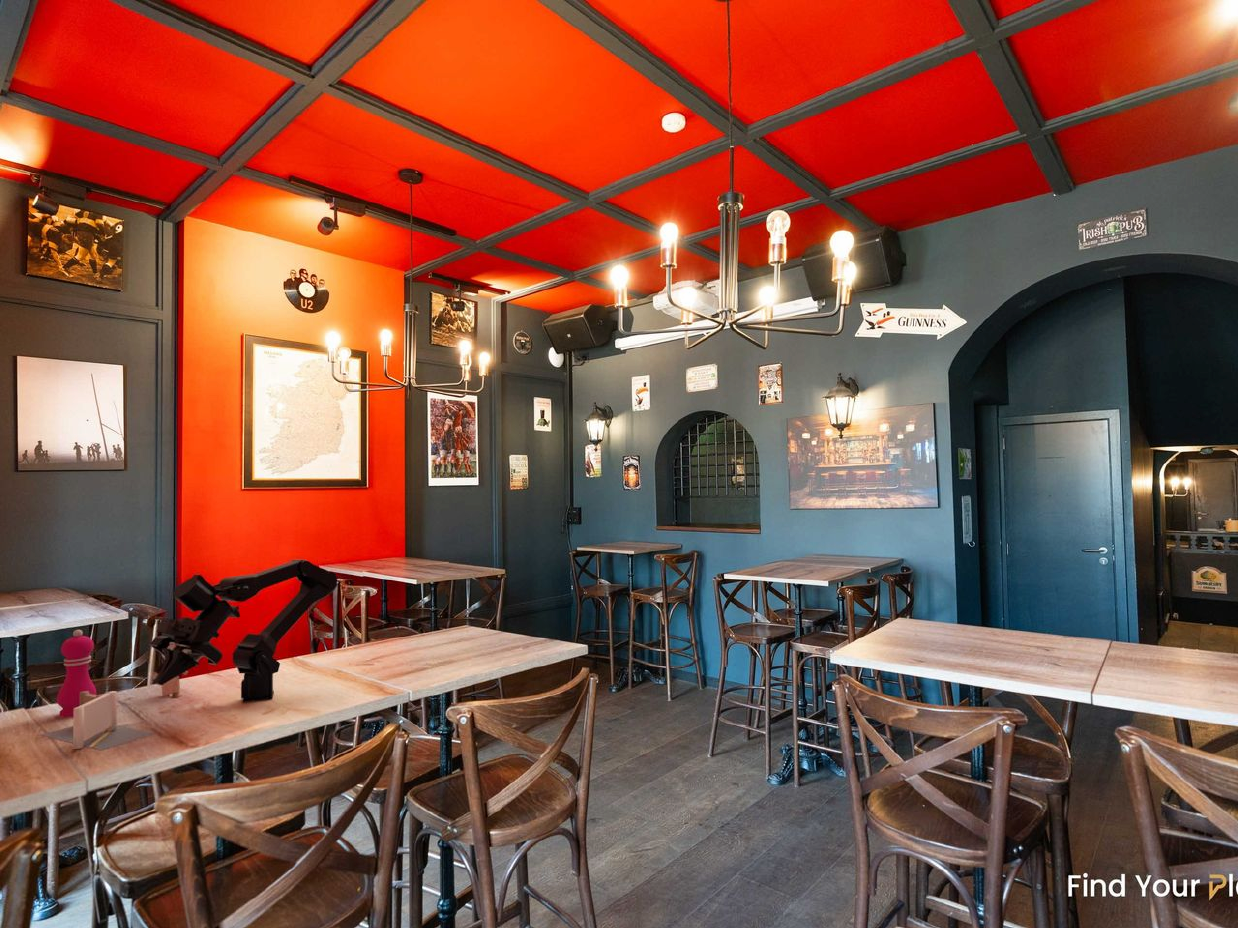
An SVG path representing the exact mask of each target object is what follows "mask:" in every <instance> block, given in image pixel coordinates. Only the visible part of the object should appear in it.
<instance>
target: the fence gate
mask: <svg viewBox="0 0 1238 928" xmlns="http://www.w3.org/2000/svg"><path fill="white" fill-rule="evenodd" d="M103 694H104V695H102V696H100V697H98V698H96V699H94V700H92V701H89V702H87V703H85V704H83V705H81V706H79V707H76V708H74V716H73V719H72V720H73V721H72V723H73V725H72V726H73V743H72V750H80V749H82V748H84V746H83V743H84V741H85V740H87V739H89V738H91V737H92V736H94V735H96V734H98V733H100V732H101V731H103V730H105V731H112V730H115V729H117V725H118V723H117V722H118V721H117V720H118V717H117V716H118V691H116V690H115V691H113V690H112V691H108V692H107V691H106V693H103Z"/></svg>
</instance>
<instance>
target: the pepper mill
mask: <svg viewBox="0 0 1238 928" xmlns="http://www.w3.org/2000/svg"><path fill="white" fill-rule="evenodd" d="M83 634H84V633H83V630H81V629H75V630H74V631H73V633H72V636H73V637H70V638H68V639H66V640H65V641H64V642H63V643H62V645H61V648H60V653H61V654H62V656H63V657H64V659H63V662H64V663H63V666H65V669H66V672H65V679H64V682H63V684H62V686H61V687H60V689H59V691H58V694H57V699H56V702H57V704H58V706H59V707H61V709H60V710H59V717H60V718H72V717H73V718H74V708H76V707H79V706H80V692H84V691H89V694H93V695H97V688H96V686H95V684H94V683H93V681H92V680H91V677H90V674H89V666H90V665H89V664H90V663H91V662H92V660H91V658H92V656H91V655H90V654H91V653H92V652H93V650H94V648H95V647H94V646H95V643H94V641H93V640H92V638H90V637H89V636H84V635H83Z"/></svg>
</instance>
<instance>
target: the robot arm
mask: <svg viewBox="0 0 1238 928" xmlns="http://www.w3.org/2000/svg"><path fill="white" fill-rule="evenodd" d="M294 578H296V579H297V581H299V582H300V586H299V590H298V593H297V594H296V595H295V596H294V597H293V598H291V600H290V601H289V602H288V603H287V605H285V607H284V608H282V610H280V612H279V613H278V614H277V615H276V616H275V617H274V618H273V619H272V620H271V621H270V622H269V624H267V625H266V627H265V628H264V629H262V631H261V632H259V633H257V634H255V633H248V634H246V635H245V636H244V638H243V639H242V640H241V641H240V642H239V643H236V645H235V647H236V648H235V649H234V651H233V653H232V663H233V665H234V666H235V667H236V668H237V671H238V673H239V674H244V675H243V679H242V680H241V683H240V699H242V703H248V702H255V701H256V702H257V701H266V700H272V699H273V697H274V694H275V691H274V674H276V673H278V672H279V669H280V665H281V663H280V662H279V661H278V660H277V659H276V658H275V657H273V656H274V655H275V653H276V650H277V645H278V644H279V642H280V641H281V640H282V639H283V638H284V636H286V634H287V633H288V632H289V631H290V630H291V629H292V628H293V627H294V626H295V625H296V623H297V622H299V620H300V619H301V618H302V617H303V615H304V614H305V613H306V612H307V611H308V610H309V609H310V608H311V607H312V605H314V604H315V603H316V602H318V601H319V600H322V599H324V598H326V597H328V596H329V595H330V594H331V593H333V592H334V591H335V590H336V588H337V587H338V576H337V575H336V573H335V572H333V571H329V570H326V569H324V568H323V567H320V566H318V565H315V564H314V563H312V562H310V561H308V560H307V559H299V558H297V559H292V560H290V561H289V562H285V563H283V564H280V565H276V566H273V567H271V568H267V569H265V570H262V571H259V572H256V573H253V574H252V573H251V574H244V575H236V576H230V577H229V576H228V577H225V578H222V579H221V580H219V583H216V584H213V585H211V583H210V582H208V581H207V579H205V578H204V576H202V575H201V574H193V576H192V577H191V578H188V579H186V580H184V581H183V582H182V583H181V584H178V585H177V586H176V588H175V589H174V590H173V593H172V596H173V598H174V599H176V600H177V601H178V602H180V604H182V605H183V606H185V607H186V608H187V609H188V610H190V611H191V612H194V613H195V612H199V613H198V615H197V616H196V617H195V618H191V617H188V616H187V617H186V616H182V617H181V618H180V619H173V618H164V617H163V618H162V617H161V619H160V622H159V625H158V626H157V629H156V632H155V633H158V634H166V635H170V636H164V635H163V636H162V635H160V636H159V635H158V636H155V637H154V638H153V639H152V640H151V641H150V643H149V646H150V647H151V648H152V649H154V650H155V651H157V652H158V653H159V654H161V656H162V655H164V656H165V660H164V662H163V663H164V664H163V667H162V669H161V672H160V674H158V676H157V678H156V682H155V683H156V684H157V685H159V686H162V685H163V684H165V683H166V682H168V681H170V680H172V679H173V678H175V677H177V676H178V675H179V676H180V675H182V674H183V673H184V672H185V671H187V672H188V671H189V670H191V669H193V668H195V667H198V666H200V663H199V661H200V660H201V658H203V657H205V658H206V659H207V664H208V665H214V666H217V665H218V664H219V663H220V662H221V660H222V659H223V651H222V650H220V649H219V648H217V647H216V646H215V645H214V644H212V643H211V642H210V641H211V640H212V639H218V638H219V637H220V633H219V630H220V629H221V628H222V626H223V625H224V624H225V623H226V621H227V620H228V619H229V618H235V619H236V618H237V619H239V618H240V617H241V614H240V606H238V605H237V606H236V605H231V604H230V603H229V602H237V603H242V602H243V603H244V602H247V601H248V600H251V598H253V597H255V596H257V595H258V594H259V593H260V592H261V591H262V590H264V589H265V588H269V587H271V586H274V585H277V584H280V583H282V582H286V581H288V580H291V579H294Z"/></svg>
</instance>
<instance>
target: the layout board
mask: <svg viewBox="0 0 1238 928" xmlns="http://www.w3.org/2000/svg"><path fill="white" fill-rule="evenodd" d="M104 694H105V693H103V694H96V695H93V694H89V691H84V692H80V706H81V705H83V704H85V703H87V702H89V701H92V700H94V699H96V698H98V697H100V696H102V695H104ZM153 735H155V733H154V732H148V731H145V730H140V729H137V728H136V729H135V728H131V727H126V726H122V725H118V724H117V729H115V730H112V731H105V730H103V731H101V732H100V733H98V734H96V735H94V736H92V737H91V738H89V739H87V740H85V741H84V743H83V747H86V748H90V749H94V750H97V751H104V750H108V749H110V748H114V747H117V746H121V745H124V744H127V743H130V742H131V743H132V742H133V741H137V740H139V739H143V738H146V737H149V736H153ZM41 736H43V737H45V738H46V737H47V738H50V739H54V740H58V741H62V742H64V743H71V744H73V725H72V726H68V727H66V728H61V729H57V730H53V731H50V732H45V733H43V734H41Z"/></svg>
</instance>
